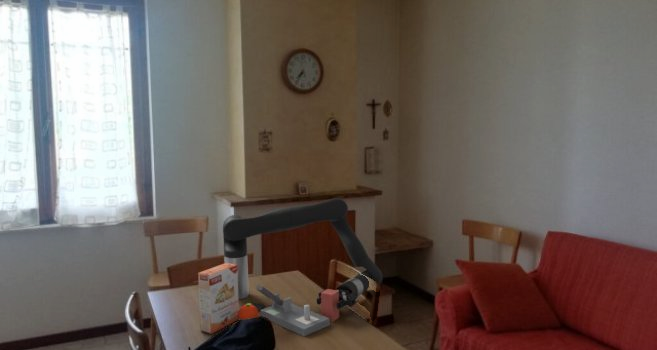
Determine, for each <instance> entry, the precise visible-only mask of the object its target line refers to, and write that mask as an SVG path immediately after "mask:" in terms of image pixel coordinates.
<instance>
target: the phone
mask: <svg viewBox="0 0 657 350" xmlns="http://www.w3.org/2000/svg"><path fill="white" fill-rule="evenodd" d="M250 303H251V304H252V305H254V306H255V307H256V308H257V310H258V313H259V312H260V310H262V309H265V308H266V307H265V306H266V304H263V303H254V302H250Z"/></svg>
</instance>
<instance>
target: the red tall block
mask: <svg viewBox="0 0 657 350" xmlns="http://www.w3.org/2000/svg"><path fill="white" fill-rule="evenodd" d="M326 289H327V290H326ZM326 289H324V290H325V291H324V290H322V291H323V292H322V291H321V292H322V293H321V304H320V306H321V308H320V311H321V313H320V315H322V316H325V317H327V318H330V323H334V322H335V321H336V320H338V319H339V318H340V309H337V303H338V302H339V291H336V289H332V288H326Z"/></svg>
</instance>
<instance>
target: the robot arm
mask: <svg viewBox="0 0 657 350" xmlns="http://www.w3.org/2000/svg"><path fill="white" fill-rule="evenodd" d="M348 211H349V206H348V204H347V203H346V201H345V200H343V199H341V198H338V197H336V198H331V199H328V200H325V201H321V202H318V203H313V204H303V205H302V204H301V205H294V206H287V207H280V208H277V209H274V210H271V211H268V212H266V213H263V214H261V215H258V216H253V217H245V218H244V217H241V216H240V215H237V214H231V215H230V216H228V217H227V218H226V219H225V220H223V224H222V234H223V235H222V236H223V259H224V261H223V262H224V263H230V264H235V265H237V269H238V300H242V299H243V300H244V299H247V298H248V297H249V295H250V294H249V293H250V292H249V269H248V268H249V267H248V266H249V265H248V244H247V242H248V241H247V238H251V237H254V236H257V235H262V234H271V233H272V234H273V233H278V232H284V231H289V230H294V229H298V228H302V227H305V226H308V225H310V224H313V223H317V222H323V221H325V222H326V221H328V222H329V223H330V225H332V227H333V229H334V230H335V232H336V233H337V234H338V237H339V238H340V241H341V242H342V244H343V246H344V249H345V250H346V252H347V255H348V256H349V258H350V260H351V262H352V264H353V266H354V267H355V268H364V269H365V270H363V271H361V272H360V273H361V274H363V275H365V276H367V277H369V278H371V279H373V280H374V281H376V282H377V283H378V284H377V285H379V284H381V283H382V282H383V273H382V271H381V270H380V268H379V267H378V266H377V265H376V264H375V263H374V262H373V260H372V259H371V258H370V256H369V255H368V253H367V251H366V249H365V247H364V245H363V243H362V242H361V240H360V239H359V238H358V236H357V235H356V234H355V232H354V230H353V229H352V227H351V225H350V224H349V221H348V219H347V216H346V215H347V214H348ZM363 275H360V274H359V273H358V274H356V275H355V276H354V277H352V278H349V279H347V280H345V281H344V282H342V283H340V284H339V285H338V286H337V287H336V289H335V290H336V291H339V302H338V303H337V309H339V310H340V309H342V308H344V307H350V308H351V307H353V306H354V305H356V304H357V303H358V302H359V301H358V300H359V297H360V296H361V295H362V294H363V293H365V292H367V290H368V289H369V288H370V287H369V281H368V279H367V278H366V277H365V276H363ZM368 287H369V288H368ZM327 289H328V288H326V289H324V290H322V291H320V292H318V297H317V298H316V304H317V305H321V293H322V292H323V291H325V290H327Z"/></svg>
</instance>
